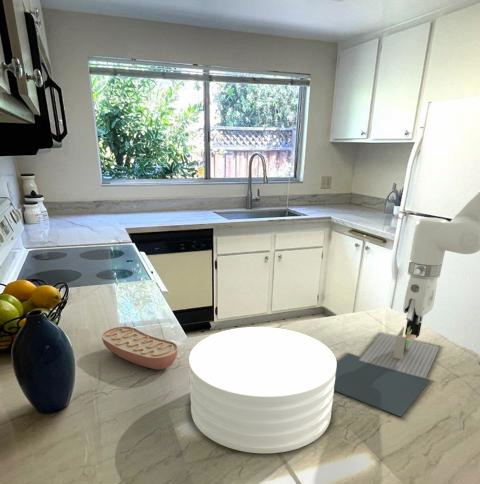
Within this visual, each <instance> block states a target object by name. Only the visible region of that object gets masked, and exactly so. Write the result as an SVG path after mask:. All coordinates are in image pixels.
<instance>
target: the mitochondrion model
mask: <svg viewBox="0 0 480 484" xmlns="http://www.w3.org/2000/svg"><path fill="white" fill-rule="evenodd" d="M101 340H102V343H103V345H104V347H105V348H107V349H108V350H109V351H111V352H112V353H113V354H115V355H117V356H118V357H119V358H122V359H123V360H125V361H128V362H130V363H133V364H136V365H138V366H141V367H145V368H149V369H152V370H164V369H166V368H169V367H171V366H172V364H173V363H174V362H175V360H176V359H177V356H178V353H179V347H178V345H177V344H176V342H173V341H171V340H166V339H162V338H159V337H156V336H153V335H150V334H147V333H145V332H143V331H141V330H139V329H137V328H135V327H132V326H117V327H113V328H110V329H107V330H105V331H104V332H103V333H101Z"/></svg>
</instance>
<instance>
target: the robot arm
mask: <svg viewBox="0 0 480 484" xmlns="http://www.w3.org/2000/svg"><path fill="white" fill-rule="evenodd" d="M446 251H447V252H450V253H451V252H452V253H455V254H461V255H472V254H476V253H478V252H480V190H479V191H478V192H477V193H476V194H475V195H474V196H473V197H471V199H470V200H468V201H467V203H466V204H465V205H464V206H463V207H462V208H461V209H460V210H459V211H458V212H457V213H456V214H455V216H453V218H452V219H450V220H447V219H445V218H439V217H422V218H419V219H418V220H417V221H416V222H415V227H414V233H413V238H412V244H411V250H410V255H409V260H408V261H409V262H408V267H407V275H409V279H408V281H407V282H408V283H407V286H406V290H405V296H404V302H403V307H402V311H403V313H404V314H406V318H405V319H406V325H405V330H404V335H405V336H406V334H407V329H408V328H409V327H410V331H411V329H412V331H411V333H410V334H412V335H416V338H415V339H418V337H419V336H420V334H421V328H422V322H423V318H424V316H425V315H427V314H429V312H430V311H432V310H433V308H434V304H435V299H436V292H437V286H438V279H439V278H440V277H441V273H442V267H443V263H444V258H445V252H446ZM410 331H409V332H410Z"/></svg>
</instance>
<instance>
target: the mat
mask: <svg viewBox="0 0 480 484" xmlns="http://www.w3.org/2000/svg"><path fill="white" fill-rule="evenodd" d="M361 357H362V356H357V355H355V354H351V353H347V354H346V355H344V356H343V357H342V358H341V359H340V360H338V361H336V362H337V367H336V374H335V384H334V392H336V393H339V394H341V395H344V396H346V397H348V398H351V399H354V400H357V401H359V402H362V403H364V404H366V405H369V406H371V407H374V408H376V409H379V410H382V411H384V412H386V413H388V414H392V415H394V416H397V417H399V418H402V417H403V416H404V415H405V413H406V412H407V411H408V410H409V408H410V407H411V405H412V404H413V403H414V402H415V400H416V399H417V398H418V397H419V395H420V394H421V393H422V392H423V391H424V389H425V388H426V387H427V386H428V384H429V383H430V381H431V380H430V379H428V378H422V377H418V376H414V375H411V374H407V373H403V372H400V371H396V370H392V369H389V368H385V367H381V366H378V365H374V364H370V363H367V362H363V361H359V359H360V358H361Z"/></svg>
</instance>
